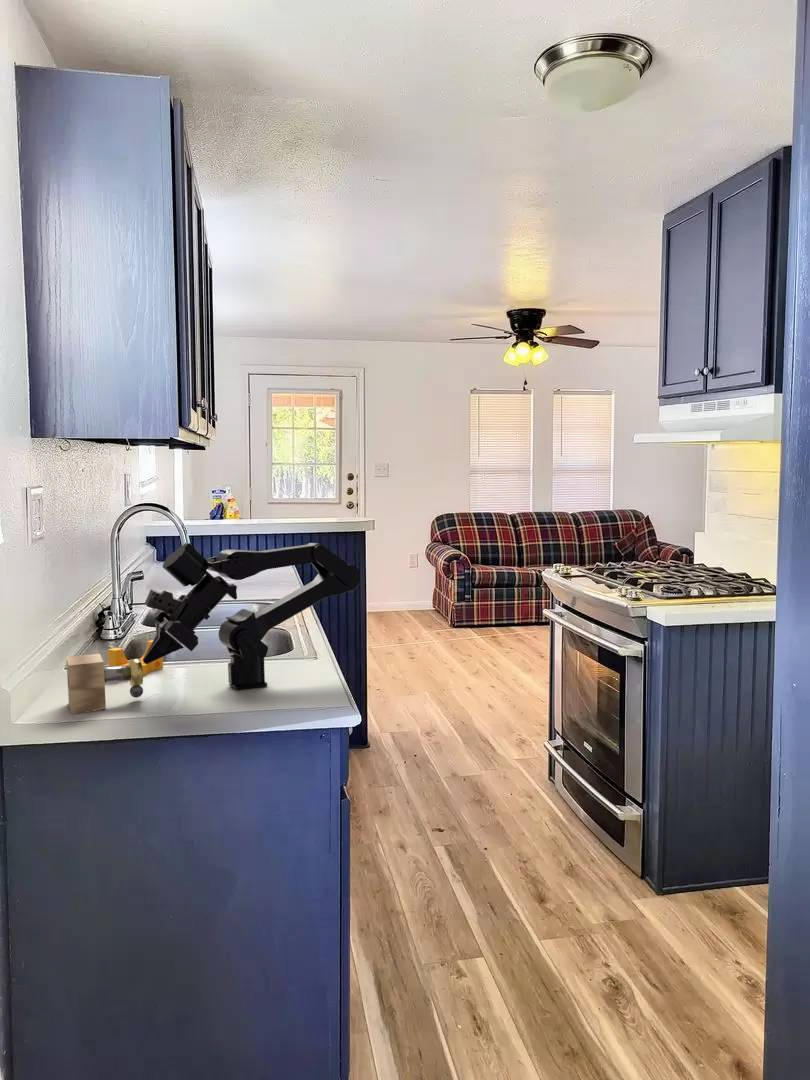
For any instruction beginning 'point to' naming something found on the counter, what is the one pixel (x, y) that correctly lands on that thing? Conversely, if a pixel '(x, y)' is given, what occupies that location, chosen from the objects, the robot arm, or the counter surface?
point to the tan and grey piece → (127, 676)
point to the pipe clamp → (119, 659)
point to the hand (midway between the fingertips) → (144, 662)
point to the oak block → (86, 683)
